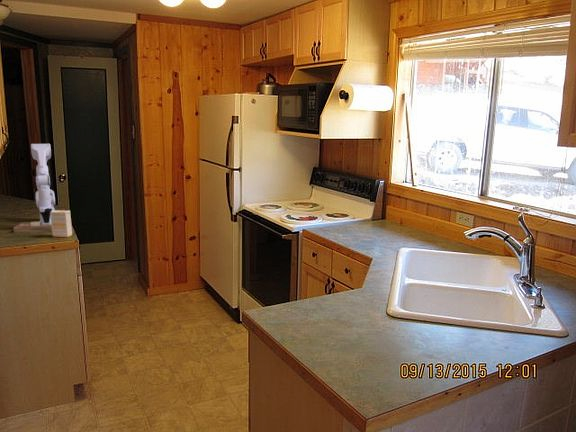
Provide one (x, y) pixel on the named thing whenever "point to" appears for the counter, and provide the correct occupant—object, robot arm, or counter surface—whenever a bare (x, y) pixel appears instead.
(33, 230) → the key panel
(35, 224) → the cream key
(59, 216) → the supplement box
